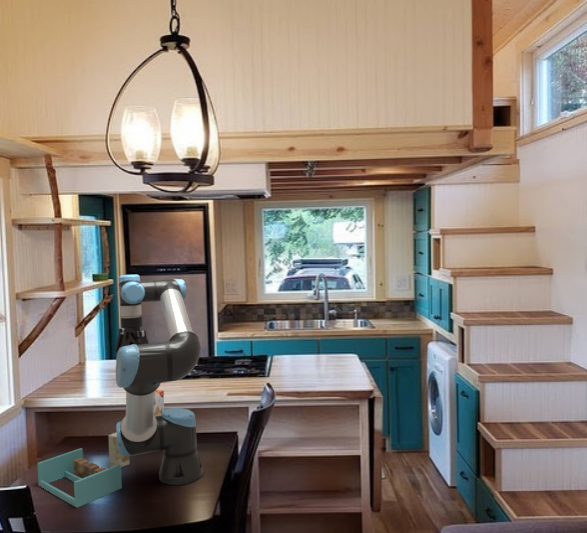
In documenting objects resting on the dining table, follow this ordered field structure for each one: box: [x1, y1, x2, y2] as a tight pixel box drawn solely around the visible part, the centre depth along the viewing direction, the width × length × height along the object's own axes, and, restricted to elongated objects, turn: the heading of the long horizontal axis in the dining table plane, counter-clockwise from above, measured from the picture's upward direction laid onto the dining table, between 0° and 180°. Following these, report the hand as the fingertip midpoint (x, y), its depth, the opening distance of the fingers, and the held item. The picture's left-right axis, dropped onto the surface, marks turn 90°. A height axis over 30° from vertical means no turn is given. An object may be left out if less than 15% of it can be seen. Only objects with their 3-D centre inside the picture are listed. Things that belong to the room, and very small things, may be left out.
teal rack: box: [37, 447, 123, 508], centre depth 177 cm, size 26×16×8 cm, turn 51°
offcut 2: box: [94, 466, 107, 474], centre depth 176 cm, size 5×3×6 cm, turn 51°
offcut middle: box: [83, 461, 100, 478], centre depth 181 cm, size 5×3×6 cm, turn 51°
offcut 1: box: [73, 457, 89, 479], centre depth 185 cm, size 5×3×6 cm, turn 51°
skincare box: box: [108, 432, 131, 468], centre depth 193 cm, size 6×4×12 cm
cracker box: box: [153, 389, 165, 416], centre depth 214 cm, size 14×6×21 cm, turn 168°
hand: (134, 373), depth 192 cm, fingers open, 13 cm apart
